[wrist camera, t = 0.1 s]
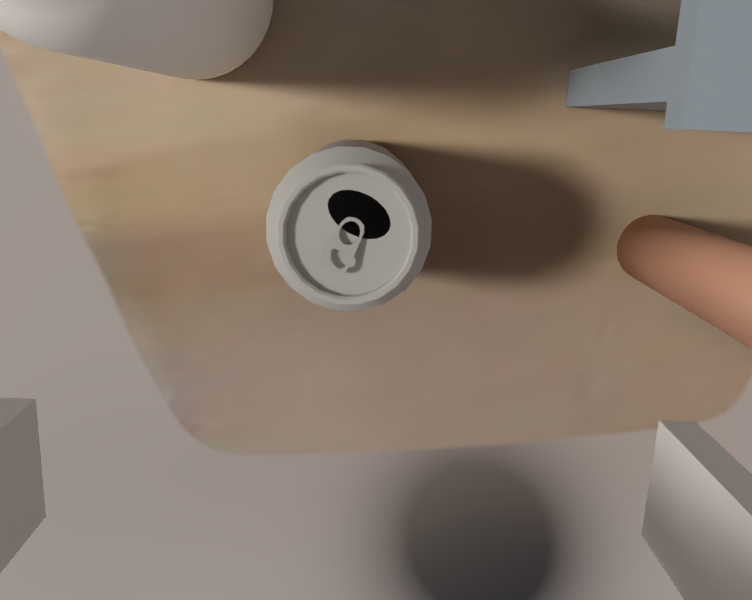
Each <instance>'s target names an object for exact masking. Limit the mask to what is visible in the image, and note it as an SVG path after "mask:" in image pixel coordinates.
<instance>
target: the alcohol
mask: <svg viewBox="0 0 752 600" xmlns="http://www.w3.org/2000/svg"><path fill="white" fill-rule="evenodd" d="M272 12H273V0H0V30H1V31H3V32H5V33H7V34H9V35H11V36H13V37H14V38H16V39H18V40H20V41H22V42H24V43H27V44H30V45H33V46H36V47H39V48H43V49H46V50H49V51H53V52H58V53H63V54H67V55H72V56H77V57H82V58H87V59H91V60H96V61H101V62H106V63H111V64H115V65H120V66H125V67H130V68H135V69H139V70H144V71H149V72H154V73H159V74H163V75H168V76H173V77H178V78H184V79H194V80H200V79H209V78H214V77H218V76H221V75H224V74H227V73H229V72H230V71H232V70H234V69H236V68H237V67H239V66H241V65H242V64H243V63H244V62H245V61H246V60H247V59H249V58H250V57H251V56H252V55H253V53H254V52H255V51H256V49H257V48H258V47H259V45H260V44H261V43H262V41H263V38H264V36H265V34H266V32H267V30H268V28H269V24H270V20H271V16H272Z"/></svg>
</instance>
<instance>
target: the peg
mask: <svg viewBox="0 0 752 600" xmlns="http://www.w3.org/2000/svg"><path fill="white" fill-rule="evenodd" d="M617 256H618V260H619V263H620V265H621V267H622V268H623V270H624V271H625V272H626V273H627V274H629V275H630V276H632V277H633V278H635V279H637V280H638V281H640V282H642V283H643V284H645V285H647V286H648V287H650V288H652V289H653V290H655V291H657V292H658V293H660V294H662V295H663V296H665V297H667V298H668V299H670V300H672V301H673V302H675V303H677V304H678V305H680V306H682V307H683V308H685V309H687V310H688V311H690V312H692V313H693V314H695V315H697V316H698V317H700V318H701V319H703V320H705V321H706V322H708V323H710V324H711V325H713V326H715V327H716V328H718V329H720V330H721V331H723V332H725V333H726V334H728V335H730V336H731V337H733V338H735V339H736V340H738V341H740V342H741V343H743V344H745V345H746V346H748V347H750V348H751V349H752V246H750V245H747V244H744V243H741V242H738V241H735V240H732V239H729V238H726V237H723V236H720V235H717V234H714V233H711V232H708V231H705V230H702V229H699V228H696V227H693V226H690V225H687V224H684V223H681V222H678V221H675V220H672V219H669V218H666V217H663V216H659V215H648V216H643V217H641V218H638V219H636V220H635V221H633V222H632V223H630V224H629V225H628V226H627V227H626V228H625V230H624V231H623V232H622V234H621V236H620V238H619V241H618V245H617Z"/></svg>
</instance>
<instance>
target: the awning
mask: <svg viewBox="0 0 752 600" xmlns="http://www.w3.org/2000/svg"><path fill="white" fill-rule="evenodd" d="M566 107H585V108H610V109H634V110H658V111H666V115H665V122H664V129H685V130H710V131H735V132H752V0H681V7H680V14H679V21H678V29H677V36H676V43H675V46H672V47H667V48H663V49H659V50H654V51H650V52H646V53H641V54H637V55H633V56H628V57H624V58H620V59H615V60H611V61H607V62H602V63H598V64H594V65H589V66H585V67H581V68H576V69H572V70H570V71H569V80H568V90H567V100H566Z"/></svg>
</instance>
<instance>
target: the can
mask: <svg viewBox="0 0 752 600" xmlns="http://www.w3.org/2000/svg"><path fill="white" fill-rule="evenodd" d="M431 227H432V219H431V215H430V212H429V208H428V204H427V201H426V197H425V194H424V193H423V191H422V190H421V188H420V187H419V185H418V184H417V182H416V181H415V179H414V178H413V176H412V175H411V173H410V172H409V171H408V169H407V168H406V167H405V165H404V164H403V163H402V162H401V160H400V159H398V158H397V157H396V156H394V155H393V154H392V153H391V152H389V151H388V150H387V149H386V148H384V147H382V146H379V145H376V144H374V143H371V142H368V141H365V140H341V141H338V142H334V143H331V144H328V145H325V146H323V147H321V148H320V149H318V150H317V151H315V152H314V153H312V154H311V155H309V156H308V157H307V158H305V159H304V160H302V161H301V162H300V163H298V164H297V165H295V166H294V167H293V168H291V169H290V170H289V171H288V173H287V174H286V175H285V177H284V178H283V179H282V181H281V182H280V184H279V185H278V186H277V188H276V189H275V191H274V193H273V196H272V199H271V202H270V206H269V209H268V212H267V215H266V235H267V245H268V248H269V251H270V253H271V256H272V259H273V262H274V265H275V267H276V269H277V270H278V271H279V273H280V274H281V275H282V277H283V278H284V279H285V281H286V282H287V283H288V285H289V286H290V287H291V288H292V289H294V290H295V291H296V292H298V293H299V294H301V295H302V296H303V297H305V298H306V299H307V300H309V301H310V302H312V303H315V304H318V305H321V306H324V307H327V308H330V309H333V310H353V311H361V310H364V309H368V308H371V307H375V306H378V305H382V304H385V303H386V302H388V301H389V300H391V299H392V298H394V297H395V296H397V295H398V294H400V293H401V292H403V291H404V290H406V289H407V287H408V286H409V285H410V284H411V282H412V281H413V280H414V279H415V277H416V276H417V275H418V274H419V272H420V271H421V270H422V267H423V265H424V262H425V259H426V257H427V254H428V251H429V249H430V246H431Z"/></svg>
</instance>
